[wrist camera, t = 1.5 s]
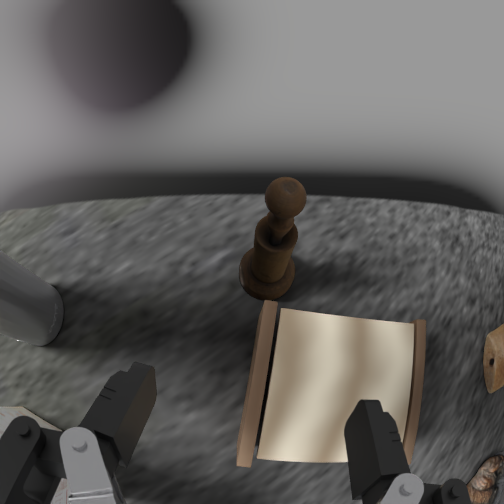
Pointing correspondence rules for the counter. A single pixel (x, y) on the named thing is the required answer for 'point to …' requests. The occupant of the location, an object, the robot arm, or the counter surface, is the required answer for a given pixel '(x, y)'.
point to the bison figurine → (488, 481)
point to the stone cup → (494, 359)
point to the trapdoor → (331, 382)
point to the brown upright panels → (260, 374)
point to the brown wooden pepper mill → (274, 242)
